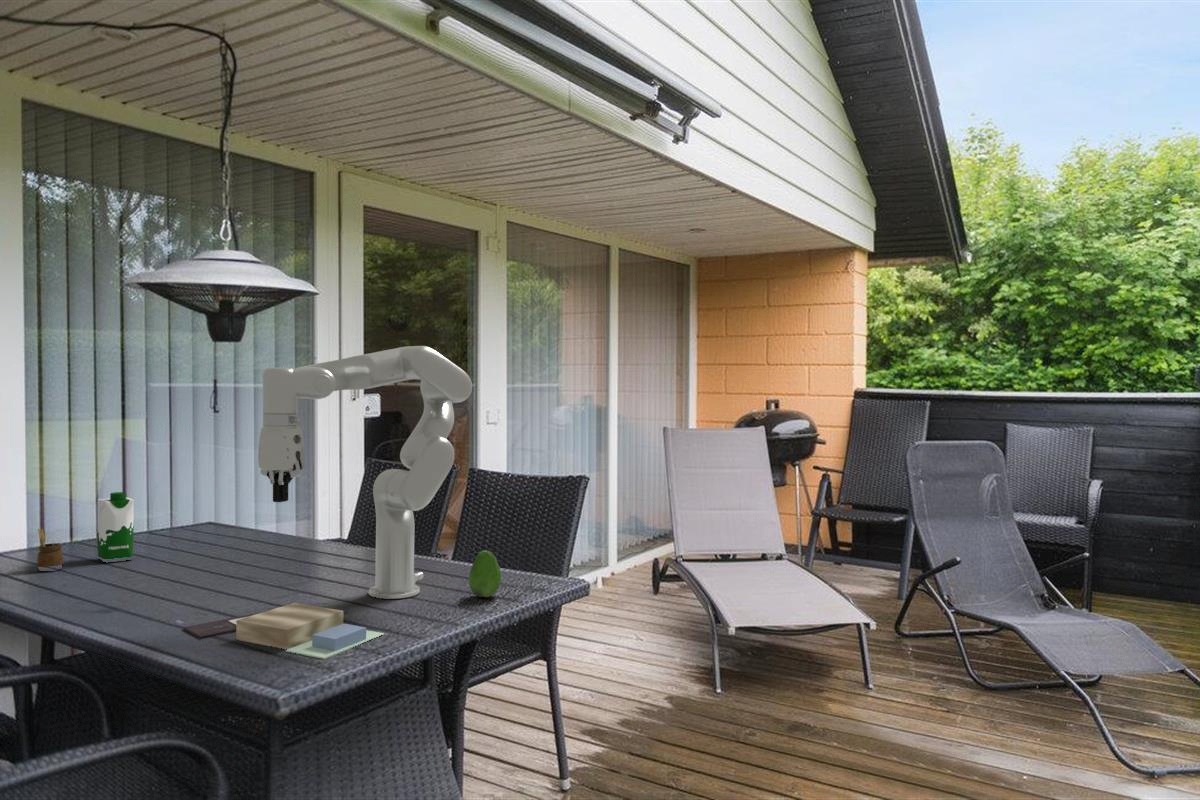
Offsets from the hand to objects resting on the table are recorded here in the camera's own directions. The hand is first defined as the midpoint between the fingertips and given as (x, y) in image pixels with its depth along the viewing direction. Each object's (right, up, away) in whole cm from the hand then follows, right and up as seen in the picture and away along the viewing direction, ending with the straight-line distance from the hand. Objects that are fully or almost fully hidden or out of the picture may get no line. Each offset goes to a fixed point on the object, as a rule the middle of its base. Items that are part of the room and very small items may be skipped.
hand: (280, 501), depth 191 cm
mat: (+19, -27, -20) cm, 38 cm away
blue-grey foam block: (+20, -24, -21) cm, 38 cm away
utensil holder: (-79, -24, +39) cm, 91 cm away
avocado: (+44, -27, +19) cm, 55 cm away
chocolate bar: (-6, -27, -9) cm, 29 cm away
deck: (+8, -26, -15) cm, 31 cm away
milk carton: (-69, -24, +53) cm, 90 cm away
